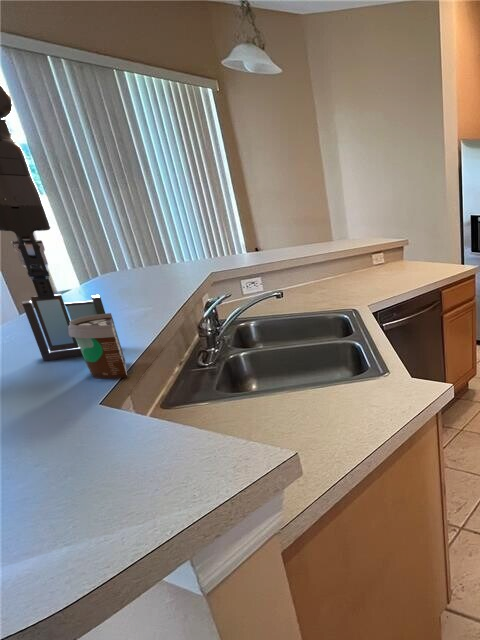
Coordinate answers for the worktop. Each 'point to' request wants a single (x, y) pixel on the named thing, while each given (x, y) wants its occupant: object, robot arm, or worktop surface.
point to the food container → (99, 345)
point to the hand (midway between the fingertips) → (46, 296)
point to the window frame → (75, 312)
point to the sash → (54, 322)
